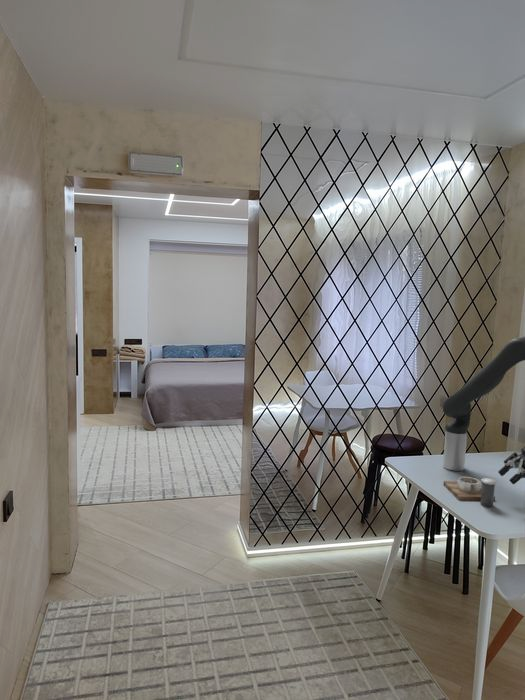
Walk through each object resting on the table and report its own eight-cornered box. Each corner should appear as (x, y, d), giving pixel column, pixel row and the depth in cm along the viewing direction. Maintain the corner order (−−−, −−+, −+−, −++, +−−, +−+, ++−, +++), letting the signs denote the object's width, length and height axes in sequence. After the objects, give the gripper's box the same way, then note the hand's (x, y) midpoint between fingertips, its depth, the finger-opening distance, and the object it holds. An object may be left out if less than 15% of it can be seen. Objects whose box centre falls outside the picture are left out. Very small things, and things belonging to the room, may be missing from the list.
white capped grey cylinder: (477, 502, 192) (479, 478, 191) (490, 502, 192) (492, 478, 191) (483, 507, 187) (485, 482, 186) (496, 507, 187) (498, 483, 186)
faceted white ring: (453, 484, 205) (454, 476, 205) (474, 485, 206) (474, 476, 205) (462, 492, 197) (462, 484, 197) (483, 493, 197) (484, 484, 197)
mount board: (443, 484, 209) (443, 481, 209) (476, 485, 209) (476, 481, 209) (458, 500, 193) (459, 496, 193) (494, 500, 194) (495, 497, 193)
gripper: (521, 436, 194) (490, 465, 195) (542, 447, 180) (508, 478, 181) (533, 450, 195) (502, 478, 196) (555, 462, 181) (521, 492, 182)
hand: (505, 478), depth 188 cm, fingers open, 8 cm apart
